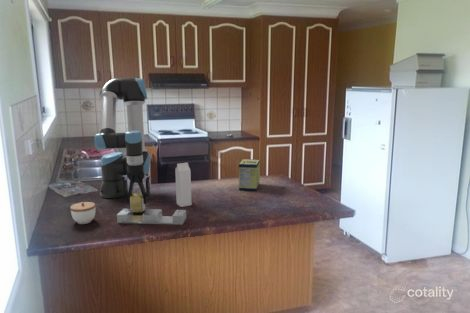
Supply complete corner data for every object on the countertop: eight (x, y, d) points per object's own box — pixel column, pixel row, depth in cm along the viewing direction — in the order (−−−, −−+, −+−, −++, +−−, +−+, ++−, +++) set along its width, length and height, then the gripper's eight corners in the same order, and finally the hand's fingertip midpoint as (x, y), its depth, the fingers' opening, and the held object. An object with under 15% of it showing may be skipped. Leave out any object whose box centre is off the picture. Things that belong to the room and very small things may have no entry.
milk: (191, 205, 196) (190, 163, 191) (180, 207, 193) (179, 165, 189) (187, 201, 201) (186, 161, 197) (176, 203, 198) (174, 162, 194)
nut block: (131, 212, 184) (130, 196, 182) (134, 208, 189) (133, 193, 187) (141, 212, 184) (140, 196, 182) (144, 208, 189) (143, 193, 187)
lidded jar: (76, 217, 180) (74, 198, 178) (99, 216, 181) (97, 198, 179) (68, 226, 169) (66, 206, 167) (93, 225, 170) (91, 205, 168)
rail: (117, 223, 173) (116, 214, 172) (123, 216, 180) (123, 208, 180) (182, 224, 170) (182, 216, 170) (186, 218, 178) (186, 209, 177)
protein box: (259, 183, 234) (259, 159, 231) (256, 191, 219) (256, 165, 216) (242, 183, 236) (242, 158, 233) (238, 190, 221) (238, 164, 218)
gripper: (113, 165, 178) (117, 212, 183) (151, 165, 177) (154, 213, 182) (119, 161, 185) (122, 206, 191) (156, 162, 184) (158, 207, 189)
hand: (138, 209), depth 186 cm, fingers closed on nut block, 5 cm apart
